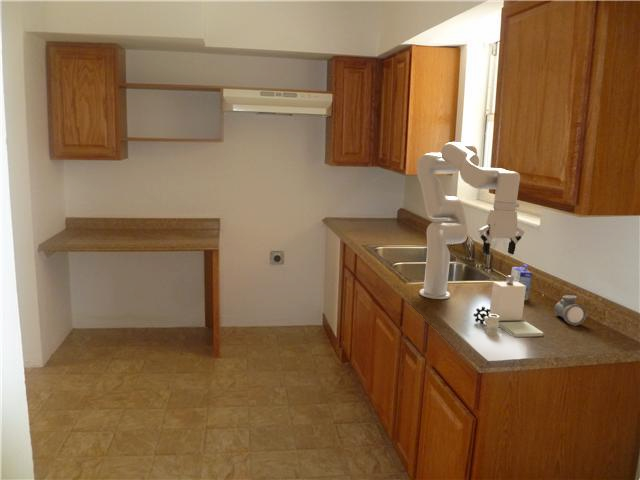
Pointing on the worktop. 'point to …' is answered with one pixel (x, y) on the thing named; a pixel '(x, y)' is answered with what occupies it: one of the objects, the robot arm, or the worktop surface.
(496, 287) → the pump housing
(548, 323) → the worktop surface
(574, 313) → the pipe fitting
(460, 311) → the worktop surface
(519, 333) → the pad
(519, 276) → the ink cartridge box
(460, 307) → the worktop surface
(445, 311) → the worktop surface
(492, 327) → the valve
